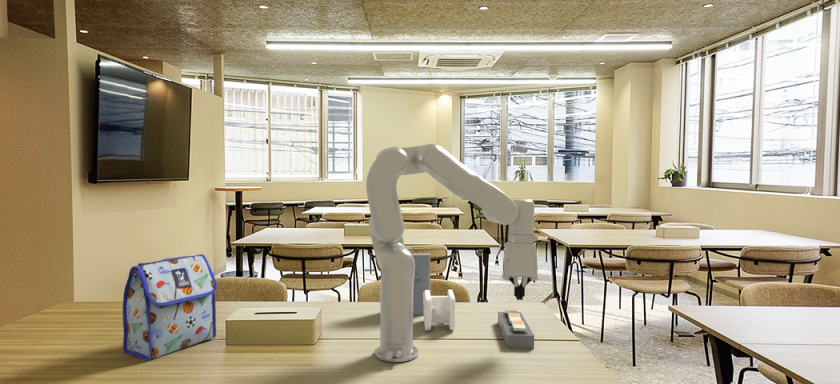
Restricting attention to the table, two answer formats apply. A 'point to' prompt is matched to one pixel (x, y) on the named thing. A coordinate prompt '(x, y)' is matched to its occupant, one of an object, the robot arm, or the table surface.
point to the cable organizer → (439, 309)
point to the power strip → (515, 333)
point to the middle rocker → (514, 317)
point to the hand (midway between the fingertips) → (519, 298)
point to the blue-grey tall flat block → (420, 280)
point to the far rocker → (511, 311)
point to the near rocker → (518, 326)
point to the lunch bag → (168, 306)
